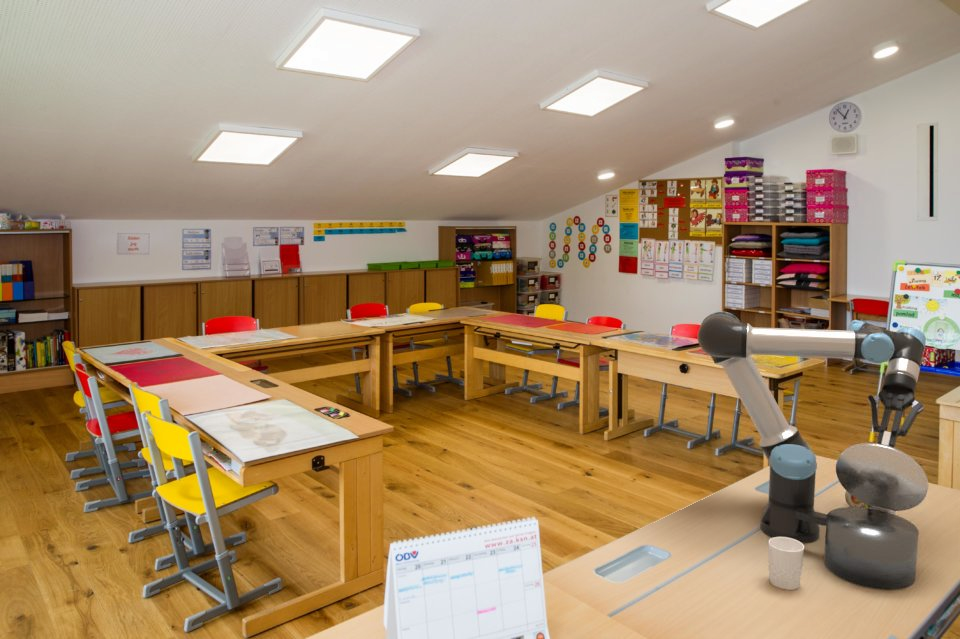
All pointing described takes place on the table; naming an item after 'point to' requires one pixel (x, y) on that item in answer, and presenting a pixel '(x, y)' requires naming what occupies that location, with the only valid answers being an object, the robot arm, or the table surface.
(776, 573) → the white cup
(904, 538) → the cooker pot
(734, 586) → the table surface
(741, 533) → the table surface
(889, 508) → the cooker lid
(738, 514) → the table surface
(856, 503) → the bird rattle
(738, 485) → the table surface
